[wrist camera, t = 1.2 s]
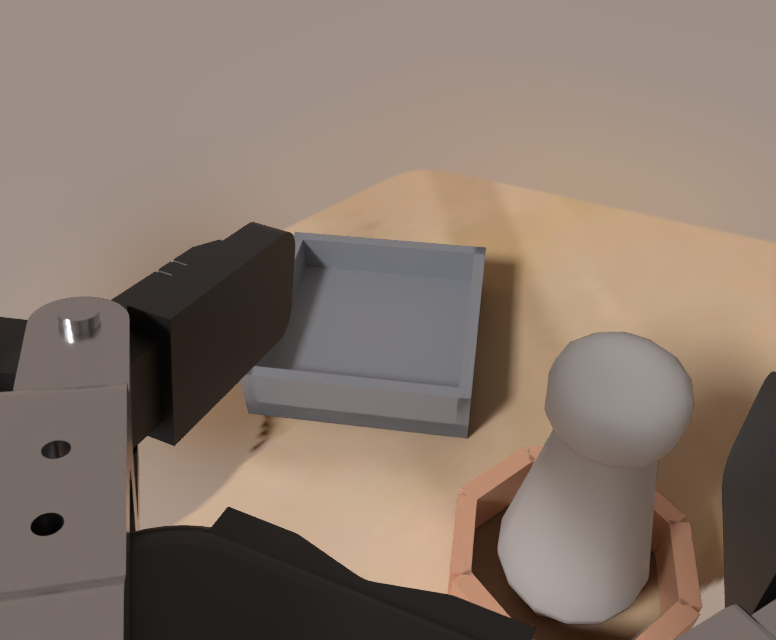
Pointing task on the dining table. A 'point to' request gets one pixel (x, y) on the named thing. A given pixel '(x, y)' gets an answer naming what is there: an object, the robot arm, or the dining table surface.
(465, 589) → the collar
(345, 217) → the dining table surface
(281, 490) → the dining table surface
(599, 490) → the salt shaker
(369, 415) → the tray
